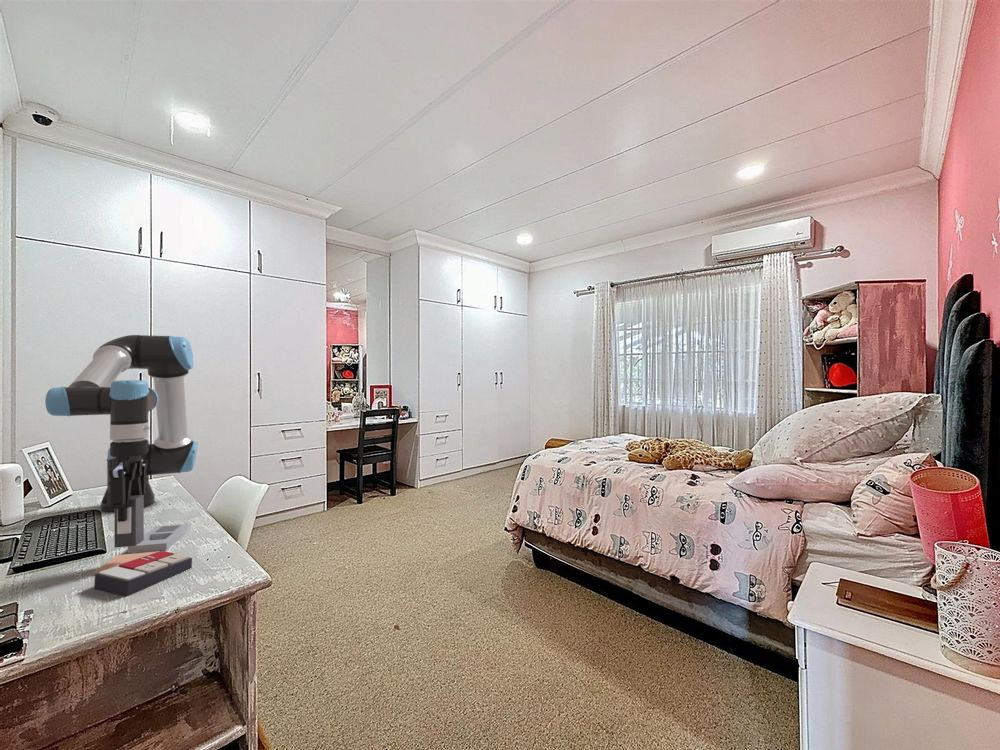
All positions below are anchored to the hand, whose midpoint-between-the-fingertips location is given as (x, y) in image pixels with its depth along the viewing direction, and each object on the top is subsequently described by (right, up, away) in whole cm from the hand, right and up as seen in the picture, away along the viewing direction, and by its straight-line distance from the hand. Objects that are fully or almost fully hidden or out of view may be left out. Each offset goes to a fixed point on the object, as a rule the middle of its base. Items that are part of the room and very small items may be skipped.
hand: (129, 529), depth 112 cm
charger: (0, -4, 0) cm, 4 cm away
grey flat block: (-3, -9, +15) cm, 17 cm away
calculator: (+10, -10, -8) cm, 16 cm away
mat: (0, -9, 0) cm, 9 cm away
